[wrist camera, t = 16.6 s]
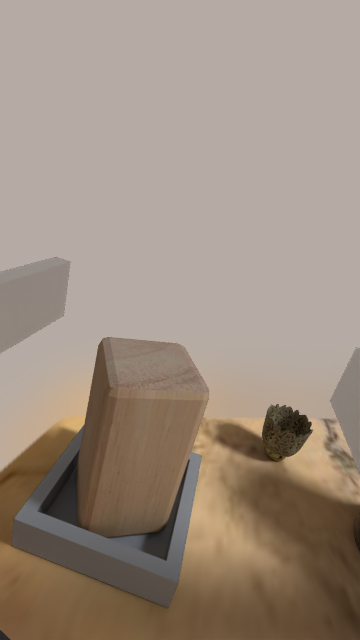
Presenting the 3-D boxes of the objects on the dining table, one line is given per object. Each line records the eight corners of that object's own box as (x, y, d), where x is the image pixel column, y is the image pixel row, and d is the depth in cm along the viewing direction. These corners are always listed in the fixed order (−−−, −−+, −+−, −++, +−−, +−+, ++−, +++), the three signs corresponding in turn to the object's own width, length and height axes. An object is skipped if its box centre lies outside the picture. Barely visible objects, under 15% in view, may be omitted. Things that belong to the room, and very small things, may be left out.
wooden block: (75, 469, 43) (99, 332, 36) (149, 465, 47) (184, 340, 39) (75, 546, 35) (107, 387, 27) (166, 535, 38) (215, 392, 31)
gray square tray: (194, 476, 48) (201, 455, 47) (168, 607, 32) (178, 582, 31) (86, 438, 50) (90, 416, 48) (11, 545, 34) (13, 518, 33)
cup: (253, 433, 61) (268, 397, 58) (293, 448, 60) (310, 413, 57) (251, 461, 54) (268, 422, 51) (296, 479, 53) (316, 440, 50)
